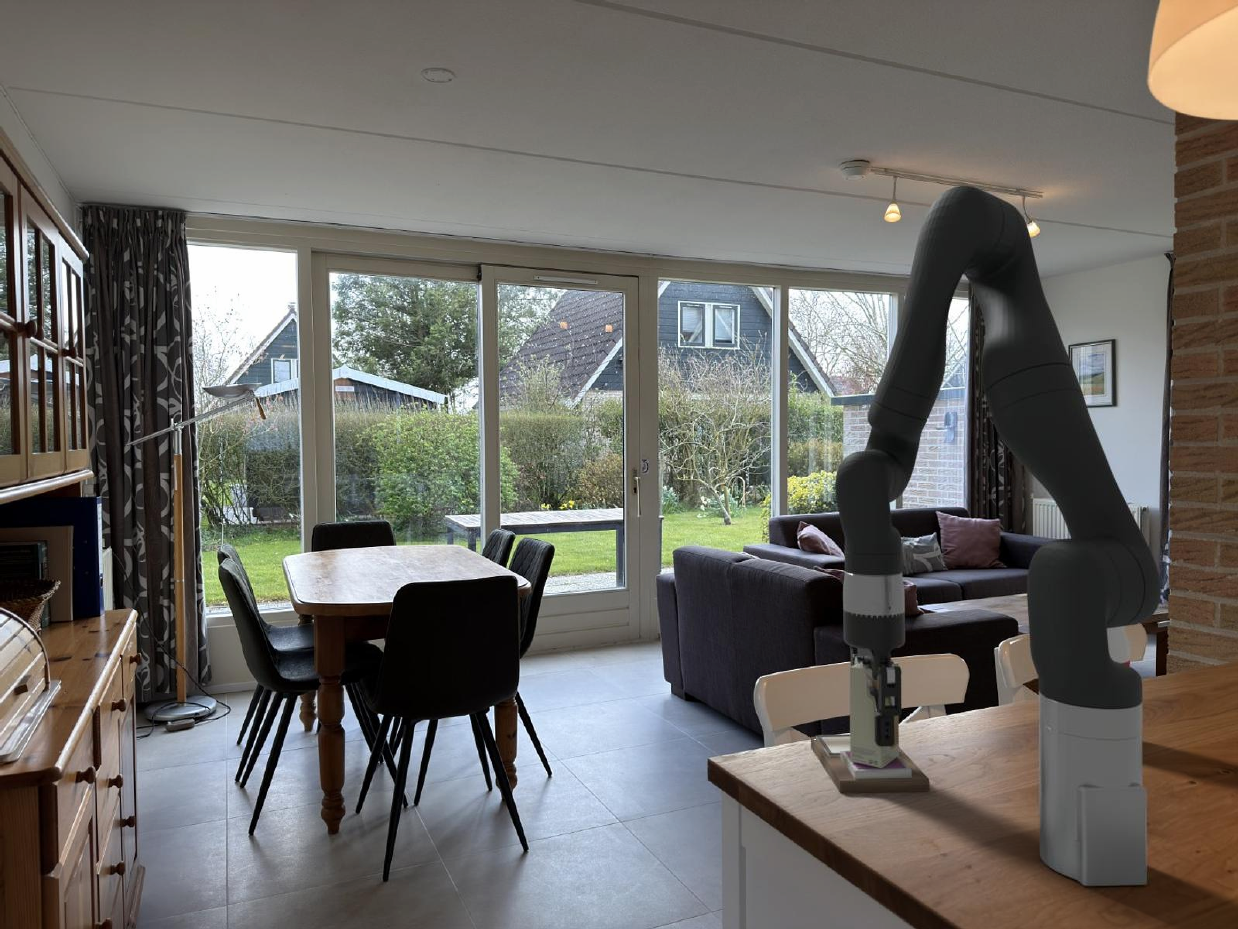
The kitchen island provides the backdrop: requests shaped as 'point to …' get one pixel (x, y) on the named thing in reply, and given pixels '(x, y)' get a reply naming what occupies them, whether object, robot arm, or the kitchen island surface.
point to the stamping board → (866, 769)
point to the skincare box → (867, 723)
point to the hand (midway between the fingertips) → (875, 734)
